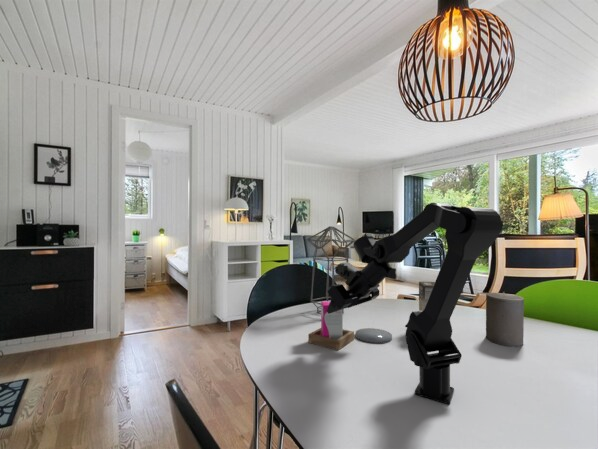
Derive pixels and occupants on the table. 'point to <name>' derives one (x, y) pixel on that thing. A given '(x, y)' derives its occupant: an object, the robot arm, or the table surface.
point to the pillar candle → (504, 319)
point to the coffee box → (424, 293)
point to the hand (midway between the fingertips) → (337, 309)
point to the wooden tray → (331, 339)
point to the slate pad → (373, 335)
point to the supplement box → (331, 322)
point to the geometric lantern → (328, 257)
